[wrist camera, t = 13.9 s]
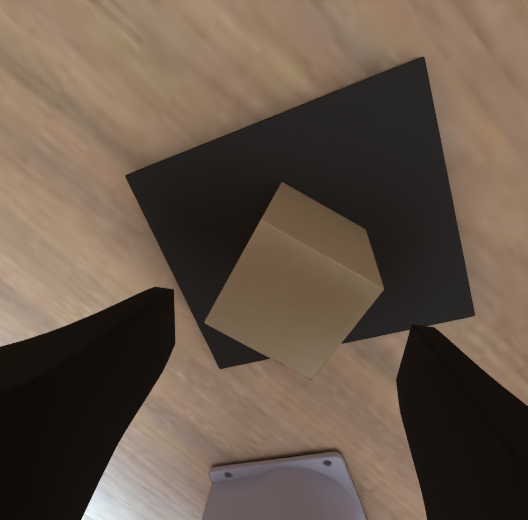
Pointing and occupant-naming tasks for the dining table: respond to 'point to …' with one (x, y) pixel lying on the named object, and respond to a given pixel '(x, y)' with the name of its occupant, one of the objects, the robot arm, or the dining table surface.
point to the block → (298, 284)
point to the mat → (320, 201)
